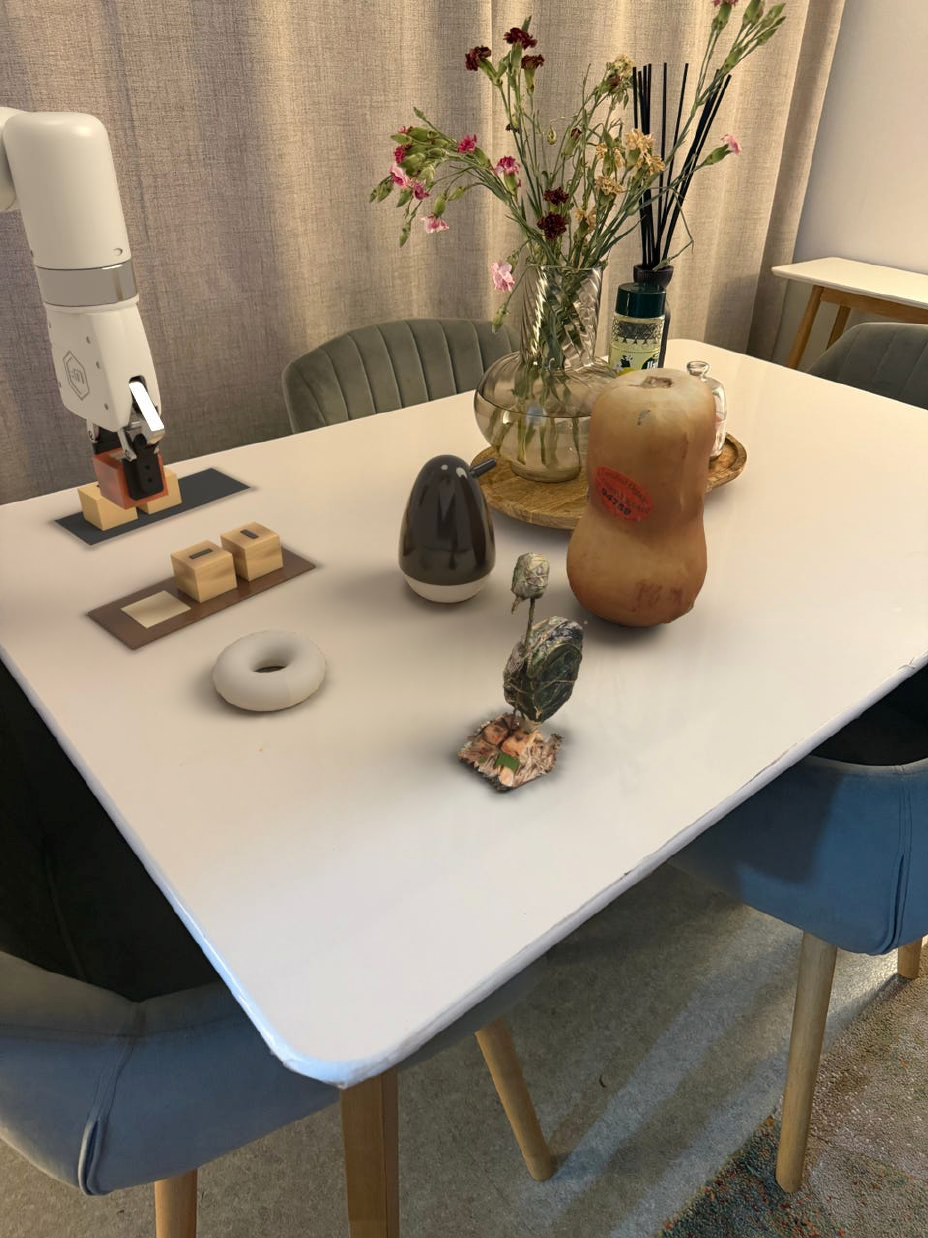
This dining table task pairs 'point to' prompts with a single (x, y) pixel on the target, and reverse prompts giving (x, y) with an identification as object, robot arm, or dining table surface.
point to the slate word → (146, 505)
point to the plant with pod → (529, 688)
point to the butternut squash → (644, 499)
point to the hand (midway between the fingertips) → (132, 485)
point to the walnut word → (203, 584)
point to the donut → (271, 688)
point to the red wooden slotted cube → (119, 479)
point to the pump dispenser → (447, 531)
